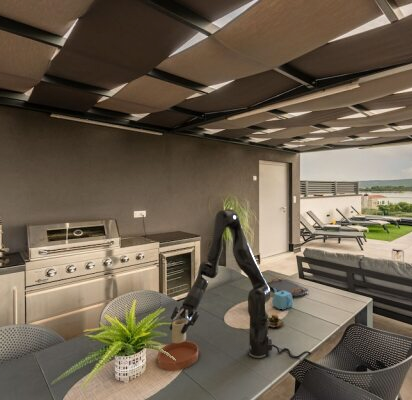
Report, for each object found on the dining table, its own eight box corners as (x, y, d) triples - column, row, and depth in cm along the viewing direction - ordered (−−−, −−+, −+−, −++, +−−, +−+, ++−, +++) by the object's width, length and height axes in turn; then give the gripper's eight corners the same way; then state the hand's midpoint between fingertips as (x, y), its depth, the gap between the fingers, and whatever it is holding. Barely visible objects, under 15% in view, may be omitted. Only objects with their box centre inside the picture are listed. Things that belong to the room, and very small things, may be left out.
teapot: (279, 300, 205) (279, 285, 205) (296, 308, 191) (296, 292, 191) (266, 304, 197) (266, 288, 197) (283, 313, 183) (283, 296, 183)
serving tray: (262, 286, 238) (262, 278, 238) (283, 281, 251) (283, 275, 251) (289, 300, 206) (289, 292, 206) (312, 294, 219) (312, 287, 218)
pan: (201, 347, 140) (201, 340, 140) (194, 369, 122) (194, 361, 122) (164, 348, 139) (165, 341, 139) (152, 371, 121) (152, 363, 121)
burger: (260, 321, 170) (261, 309, 170) (278, 319, 174) (278, 307, 174) (267, 330, 159) (267, 317, 159) (286, 327, 163) (286, 314, 163)
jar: (187, 336, 134) (187, 319, 134) (184, 343, 128) (184, 325, 128) (174, 336, 134) (174, 319, 133) (170, 343, 127) (170, 325, 127)
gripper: (179, 292, 140) (160, 325, 129) (201, 297, 134) (184, 331, 124) (186, 299, 145) (169, 331, 134) (208, 304, 139) (192, 338, 129)
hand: (176, 331), depth 129 cm, fingers closed on jar, 6 cm apart
